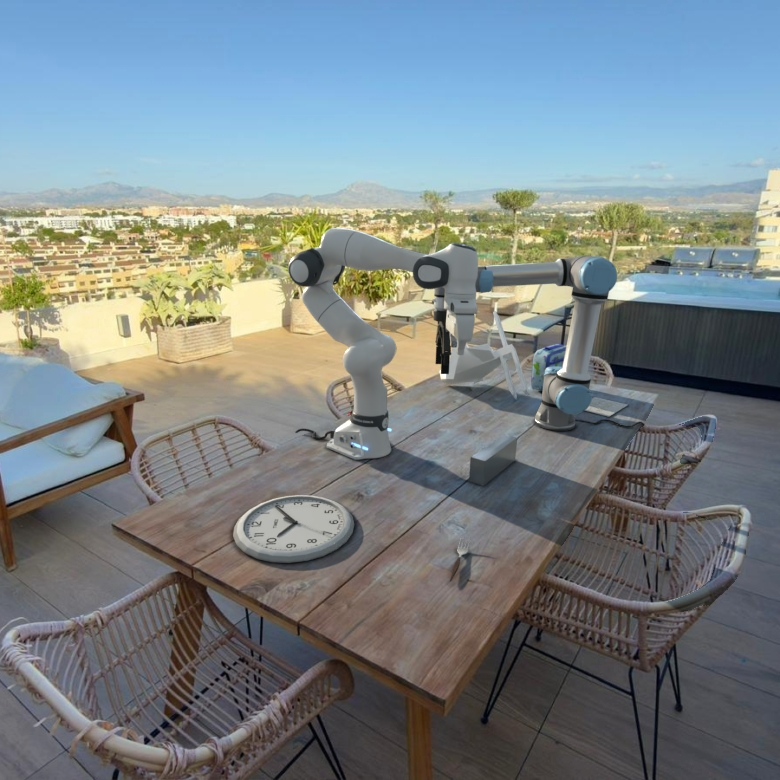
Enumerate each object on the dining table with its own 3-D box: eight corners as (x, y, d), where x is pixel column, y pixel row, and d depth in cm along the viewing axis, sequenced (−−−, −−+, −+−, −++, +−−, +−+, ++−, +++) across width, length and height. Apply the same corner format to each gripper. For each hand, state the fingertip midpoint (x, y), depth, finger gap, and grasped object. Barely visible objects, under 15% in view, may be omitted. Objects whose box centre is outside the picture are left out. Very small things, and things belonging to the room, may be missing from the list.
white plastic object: (461, 429, 252) (437, 405, 227) (444, 352, 274) (420, 323, 250) (535, 404, 240) (518, 377, 215) (510, 326, 262) (492, 293, 237)
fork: (443, 582, 112) (444, 574, 112) (460, 542, 127) (460, 535, 126) (455, 584, 112) (456, 576, 111) (471, 544, 126) (471, 537, 125)
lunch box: (547, 396, 238) (552, 351, 232) (526, 391, 246) (531, 347, 239) (574, 385, 256) (579, 343, 250) (554, 380, 263) (559, 340, 257)
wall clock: (355, 554, 119) (220, 559, 116) (355, 560, 119) (221, 565, 117) (353, 490, 147) (244, 493, 145) (353, 495, 148) (245, 498, 145)
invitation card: (608, 416, 214) (573, 407, 224) (608, 416, 214) (573, 408, 224) (628, 404, 229) (594, 396, 238) (628, 405, 229) (594, 397, 238)
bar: (501, 456, 175) (503, 434, 173) (515, 460, 173) (517, 437, 170) (468, 481, 158) (470, 456, 155) (483, 486, 155) (485, 461, 153)
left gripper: (442, 298, 157) (439, 343, 161) (455, 308, 138) (452, 359, 142) (462, 298, 158) (459, 343, 162) (479, 308, 138) (475, 359, 143)
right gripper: (429, 303, 191) (427, 360, 198) (438, 314, 168) (436, 378, 174) (449, 304, 192) (446, 360, 198) (462, 315, 168) (458, 378, 174)
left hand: (456, 350), depth 152 cm, fingers open, 8 cm apart
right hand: (441, 368), depth 186 cm, fingers open, 13 cm apart
